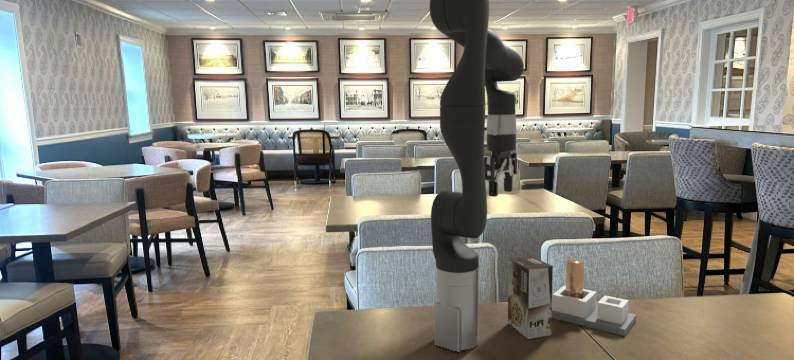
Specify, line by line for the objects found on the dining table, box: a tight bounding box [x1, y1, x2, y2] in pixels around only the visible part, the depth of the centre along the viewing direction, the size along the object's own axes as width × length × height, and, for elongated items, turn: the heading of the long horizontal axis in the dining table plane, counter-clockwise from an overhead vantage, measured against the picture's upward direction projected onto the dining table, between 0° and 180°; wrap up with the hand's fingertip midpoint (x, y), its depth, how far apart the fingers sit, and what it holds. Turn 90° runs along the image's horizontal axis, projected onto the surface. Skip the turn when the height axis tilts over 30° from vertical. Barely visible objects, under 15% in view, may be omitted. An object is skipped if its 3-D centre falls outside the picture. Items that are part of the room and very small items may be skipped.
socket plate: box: [552, 284, 637, 337], centre depth 120 cm, size 10×17×6 cm, turn 52°
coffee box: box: [507, 255, 554, 340], centre depth 115 cm, size 9×6×16 cm
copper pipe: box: [565, 258, 585, 299], centre depth 122 cm, size 4×4×12 cm
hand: (500, 193), depth 133 cm, fingers open, 8 cm apart
